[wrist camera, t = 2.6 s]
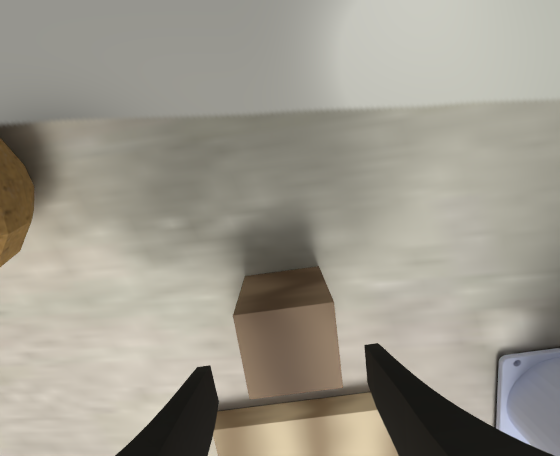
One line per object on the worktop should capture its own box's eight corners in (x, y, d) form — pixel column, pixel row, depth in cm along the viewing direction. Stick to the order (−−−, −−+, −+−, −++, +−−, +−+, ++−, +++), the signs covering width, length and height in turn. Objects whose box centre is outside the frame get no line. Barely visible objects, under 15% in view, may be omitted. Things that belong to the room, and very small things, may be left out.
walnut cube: (318, 265, 18) (333, 302, 13) (326, 331, 19) (342, 387, 14) (245, 275, 18) (232, 315, 13) (257, 340, 19) (249, 399, 14)
